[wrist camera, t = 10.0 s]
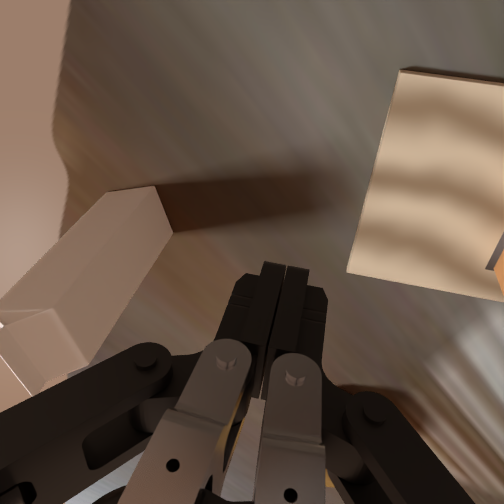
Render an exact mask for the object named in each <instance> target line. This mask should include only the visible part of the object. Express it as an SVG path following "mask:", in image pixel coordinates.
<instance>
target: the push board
mask: <svg viewBox="0 0 504 504" xmlns="http://www.w3.org/2000/svg"><path fill="white" fill-rule="evenodd" d="M503 250H504V83H498V82H490V81H483V80H475V79H468V78H460V77H453V76H445V75H438V74H430V73H423V72H415V71H408V70H400V69H399V73H398V76H397V80H396V84H395V88H394V92H393V95H392V99H391V103H390V107H389V110H388V114H387V118H386V122H385V125H384V129H383V133H382V137H381V141H380V144H379V148H378V152H377V156H376V159H375V163H374V167H373V171H372V174H371V178H370V182H369V186H368V190H367V193H366V197H365V201H364V205H363V208H362V212H361V216H360V220H359V223H358V227H357V231H356V235H355V239H354V242H353V246H352V250H351V254H350V257H349V261H348V265H347V273H353V274H358V275H363V276H368V277H374V278H379V279H384V280H389V281H395V282H400V283H405V284H410V285H416V286H421V287H426V288H431V289H437V290H442V291H447V292H452V293H458V294H463V295H468V296H473V297H479V298H484V299H489V300H494V301H500V302H504V295H503V293H502V290H501V287H500V285H499V282H498V279H497V277H496V274H495V271H494V267H495V265H496V263H497V261H498V259H499V257H500V256H501V254H502V252H503Z"/></svg>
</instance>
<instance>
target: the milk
mask: <svg viewBox="0 0 504 504" xmlns="http://www.w3.org/2000/svg"><path fill="white" fill-rule="evenodd" d="M172 234H173V231H172V229H171V226H170V224H169V221H168V219H167V216H166V213H165V211H164V208H163V206H162V203H161V201H160V198H159V196H158V193H157V191H156V188H155V186H149V187H141V188H134V189H127V190H119V191H112V192H106V193H105V194H104V195H103V196H102V197H101V198H100V199H99V200H98V201H97V202H96V203H95V204H94V205H93V206H92V207H91V208H90V209H89V210H88V211H87V212H86V213H85V214H84V215H83V216H82V217H81V218H80V219H79V220H78V221H77V222H76V223H75V224H74V226H73V227H72V228H71V229H70V230H69V231H68V232H67V233H66V234H65V235H64V236H63V237H62V238H61V239H60V240H59V241H58V242H57V243H56V244H55V245H54V246H53V247H52V248H51V249H50V250H49V251H48V252H47V253H46V254H45V255H44V256H43V257H42V258H41V259H40V260H39V261H38V262H37V263H36V264H35V265H34V266H33V267H32V268H31V269H30V270H29V271H28V272H27V273H26V274H25V275H24V276H23V277H22V278H21V279H20V280H19V281H18V282H17V283H16V284H15V285H14V286H13V287H12V288H11V289H10V290H9V291H8V292H7V293H6V294H5V295H4V296H3V297H2V298H1V299H0V327H1V330H0V357H1V358H2V359H3V360H4V362H5V363H6V364H7V366H8V367H9V368H10V369H11V370H12V372H13V373H14V374H15V376H16V377H17V378H18V380H19V381H20V382H21V383H22V385H23V386H24V387H25V388H26V390H27V391H28V392H29V393H30V395H31V396H35V395H37V394H38V393H39V392H40V390H41V389H42V387H43V386H44V384H45V383H46V382H48V381H50V380H52V379H55V378H57V377H60V376H62V375H65V374H67V373H70V372H72V371H75V370H77V369H80V368H82V367H85V366H87V365H89V364H90V362H91V360H92V359H93V357H94V356H95V354H96V353H97V351H98V350H99V348H100V346H101V345H102V343H103V342H104V340H105V339H106V337H107V335H108V334H109V332H110V331H111V329H112V328H113V326H114V325H115V323H116V321H117V320H118V318H119V317H120V315H121V314H122V312H123V311H124V309H125V307H126V306H127V304H128V303H129V301H130V300H131V298H132V296H133V295H134V293H135V292H136V290H137V289H138V287H139V286H140V284H141V282H142V281H143V279H144V278H145V276H146V275H147V273H148V272H149V270H150V268H151V267H152V265H153V264H154V262H155V261H156V259H157V257H158V256H159V254H160V253H161V251H162V250H163V248H164V247H165V245H166V243H167V242H168V240H169V239H170V237H171V236H172Z"/></svg>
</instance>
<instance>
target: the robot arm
mask: <svg viewBox="0 0 504 504" xmlns="http://www.w3.org/2000/svg"><path fill="white" fill-rule="evenodd" d="M285 270H286V265H282V264H277V263H272V262H267V261H264V264H263V267H262V270H261V273H260V276H258V275H253V274H248V273H246V274H244V275H243V276H242V277H241V278H240V279H239V280H238V281H237V282H236V283H235V286H234V289H233V291H232V295H231V297H230V299H229V302H228V305H227V307H226V310H225V313H224V315H223V318H222V321H221V323H220V326H219V329H218V331H217V334H216V337H215V339H214V341H213V342H211V343H210V344H208V345H207V346H206V347H205V349H204V350H203V351H201V352H198V353H195V354H190V355H177V356H171V354H170V352H169V351H168V349H166V348H165V347H164V346H162V345H160V344H157V343H152V342H146V343H140V344H137V345H135V346H132V347H130V348H128V349H126V350H124V351H122V352H120V353H118V354H116V355H114V356H112V357H110V358H108V359H106V360H104V361H102V362H100V363H98V364H96V365H94V366H92V367H90V368H88V369H86V370H84V371H82V372H81V373H79V374H77V375H75V376H73V377H71V378H69V379H67V380H65V381H63V382H61V383H59V384H57V385H55V386H53V387H51V388H49V389H47V390H45V391H43V392H41V393H39V394H37V395H35V396H33V397H31V398H29V399H27V400H25V401H23V402H21V403H19V404H17V405H15V406H13V407H11V408H9V409H7V410H5V411H3V412H1V413H0V504H63V503H65V502H66V501H68V500H69V499H71V498H72V497H74V496H75V495H77V494H78V493H80V492H81V491H83V490H84V489H86V488H87V487H89V486H91V485H92V484H94V483H95V482H97V481H98V480H100V479H101V478H103V477H104V476H106V475H107V474H109V473H110V472H112V471H114V470H115V469H117V468H118V467H120V466H121V465H123V464H124V463H126V462H127V461H129V460H130V459H132V458H133V457H135V456H136V455H138V454H140V453H141V452H143V451H144V450H145V451H144V453H143V455H142V457H141V459H140V461H139V462H138V464H137V466H136V468H135V470H134V472H133V474H132V476H131V478H130V480H129V482H128V484H127V485H126V486H123V487H120V488H118V489H115V490H113V491H111V492H109V493H107V494H106V495H104V496H102V497H101V498H99V499H98V500H96V501H95V502H94V503H92V504H325V468H326V469H327V473H328V476H329V478H330V480H331V481H332V483H333V485H334V486H335V488H336V490H337V491H338V493H339V495H340V496H341V498H342V500H343V501H344V503H345V504H475V503H474V502H473V500H472V499H471V498H470V497H469V495H468V494H467V493H466V492H465V491H464V489H463V488H462V487H461V486H460V484H459V483H458V482H457V481H456V480H455V478H454V477H453V476H452V475H451V473H450V472H449V471H448V470H447V468H446V467H445V466H444V465H443V464H442V462H441V461H440V460H439V459H438V457H437V456H436V455H435V454H434V453H433V451H432V450H431V449H430V448H429V446H428V445H427V444H426V443H425V442H424V440H423V439H422V438H421V437H420V435H419V434H418V433H417V432H416V431H415V429H414V428H413V427H412V426H411V424H410V423H409V422H408V421H407V420H406V418H405V417H404V416H403V415H402V413H401V412H400V411H399V410H398V409H397V407H396V406H395V405H394V404H393V403H392V402H391V401H390V400H389V399H387V398H386V397H384V396H382V395H380V394H378V393H375V392H367V391H365V392H359V393H357V394H355V395H351V394H349V393H347V392H345V391H344V390H342V389H340V388H338V387H337V386H335V385H334V384H333V383H332V382H331V381H330V380H329V379H328V378H327V377H326V375H325V373H324V371H323V369H322V352H323V342H324V333H325V323H326V313H327V305H328V299H327V297H326V294H325V292H324V290H323V288H320V287H314V286H309V285H307V282H308V276H309V269H304V268H299V267H293V266H288V267H287V271H286V275H285ZM284 277H285V279H284ZM283 283H284V284H283ZM263 377H264V380H263ZM262 381H263V387H262V394H261V399H263V400H266V402H265V409H264V415H263V421H262V427H261V435H260V443H259V451H258V458H257V466H256V474H255V482H254V489H253V496H252V501H244V502H230V501H226V500H224V499H223V498H221V497H220V495H221V491H222V487H223V483H224V479H225V476H226V473H227V470H228V467H229V464H230V461H231V458H232V456H233V453H234V450H235V447H236V444H237V441H238V438H239V435H240V432H241V429H242V426H243V423H244V420H245V416H246V414H247V411H248V408H249V404H250V400H251V397H253V398H259V394H260V390H261V386H262Z"/></svg>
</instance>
